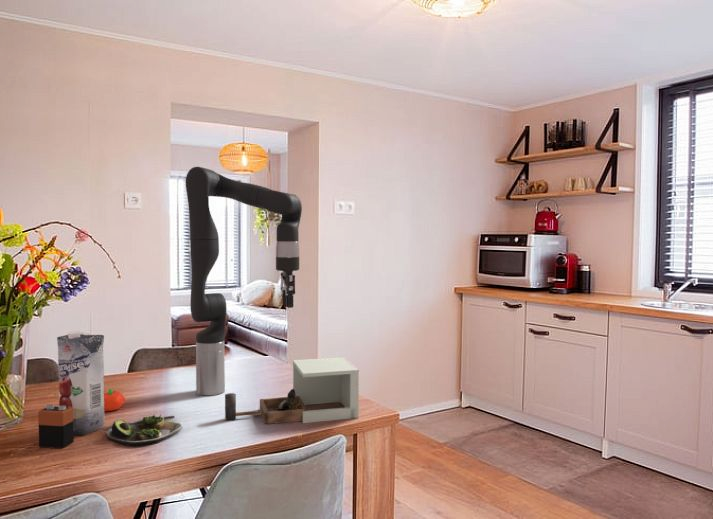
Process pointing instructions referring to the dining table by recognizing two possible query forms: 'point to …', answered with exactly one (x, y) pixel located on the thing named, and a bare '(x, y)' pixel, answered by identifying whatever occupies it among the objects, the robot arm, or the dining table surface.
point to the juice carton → (82, 379)
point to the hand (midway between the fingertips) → (287, 305)
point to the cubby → (327, 387)
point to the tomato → (113, 400)
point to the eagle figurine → (289, 402)
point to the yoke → (264, 405)
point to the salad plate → (141, 431)
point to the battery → (55, 426)
